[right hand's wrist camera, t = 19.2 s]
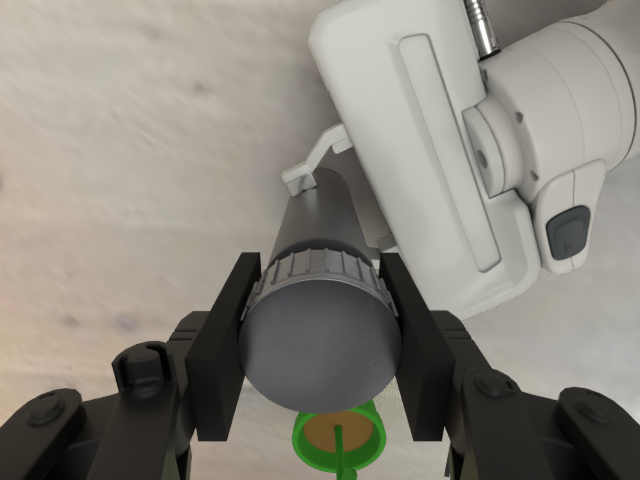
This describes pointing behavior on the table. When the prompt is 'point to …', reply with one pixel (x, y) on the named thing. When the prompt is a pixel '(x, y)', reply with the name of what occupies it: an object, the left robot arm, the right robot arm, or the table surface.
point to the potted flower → (340, 440)
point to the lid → (320, 333)
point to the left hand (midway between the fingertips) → (308, 225)
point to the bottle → (321, 221)
